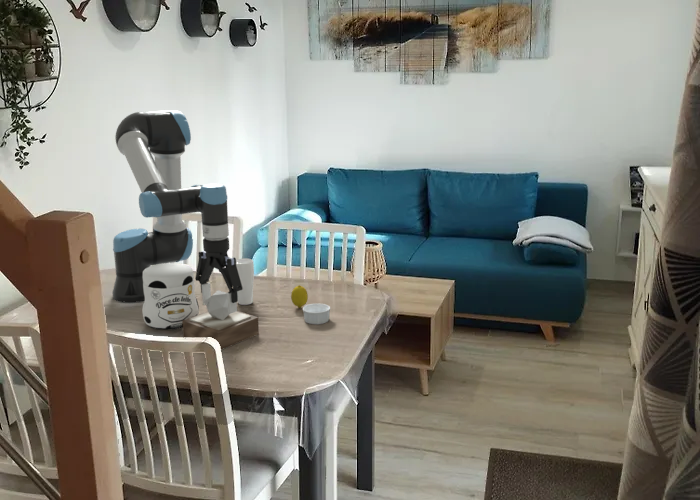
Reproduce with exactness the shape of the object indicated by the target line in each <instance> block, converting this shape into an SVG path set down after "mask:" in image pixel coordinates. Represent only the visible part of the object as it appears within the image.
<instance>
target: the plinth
mask: <svg viewBox="0 0 700 500" xmlns="http://www.w3.org/2000/svg"><path fill="white" fill-rule="evenodd" d="M182 323H183V328H182V336H183V338H184V337H212V338H214V339H216V340H217V341H218V342H219V344H220V346H221V349H222V350H224V349H223V348H225V349H227V348H230V347H232V346H234V345H236V344H238V343H241V342H244V341H246V340H248V339H251V338H254V337H255V336H258V335H259V334H260V331H259V330H260V329H259V317H258V316H255V315H252V314H248V313H245V312H242V311H239V310H237V312H234V313H231V314H229V315H228V316H227V317H226V318H225V319H224V320H221V319H218V318H214V317H212V316H211V315H210V314H209V313H208V311H206V312H202V313H200V314H198V315H197V316H194V317H191V318H188V319H185V320H183V321H182ZM231 345H232V346H231ZM226 347H227V348H226Z"/></svg>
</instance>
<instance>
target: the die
mask: <svg viewBox="0 0 700 500" xmlns="http://www.w3.org/2000/svg"><path fill="white" fill-rule="evenodd" d="M205 303H206V305H205V306H206V310H207V312H208V313H209V314H210V315H211V316H212V317H214V318H218V319H221V320H224V319H225V318H226V317H227V316H228V315H229V310H228V292H225V291H223V290H222V291H221V290H219V289H217V290H216V291H215V292H214V293H213V294H211V297H210V298H208V299H207V300H206V301H205Z"/></svg>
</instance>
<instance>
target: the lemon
mask: <svg viewBox="0 0 700 500" xmlns="http://www.w3.org/2000/svg"><path fill="white" fill-rule="evenodd" d="M308 294H309V293H308V291H307V289H306V288H305V287H304V286H302V285H300V284H299V285H297V286H295V287H294V288H293V289H292V291H291V294H290V297H291V302H292V304H293V305H294V306H295V307H297V308H299V309H301V308H303V307H304V306H306V305H307V303H308V300H309V299H308V298H309V295H308Z"/></svg>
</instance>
